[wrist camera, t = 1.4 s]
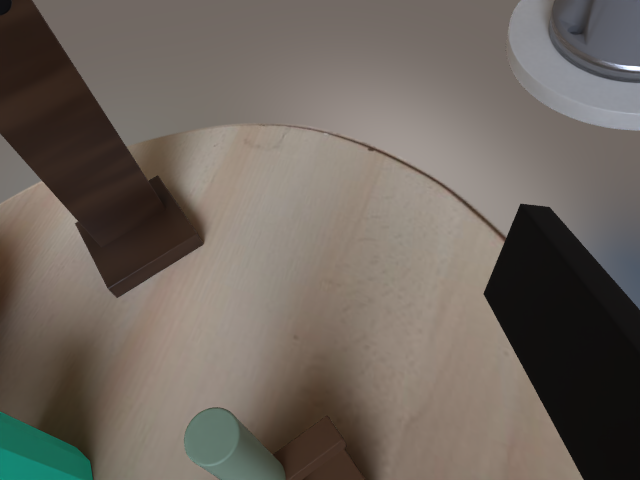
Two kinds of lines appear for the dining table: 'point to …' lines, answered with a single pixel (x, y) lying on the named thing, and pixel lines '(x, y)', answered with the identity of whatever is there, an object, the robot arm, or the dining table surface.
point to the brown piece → (84, 156)
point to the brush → (266, 451)
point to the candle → (38, 454)
